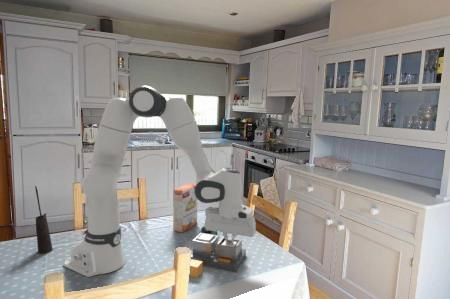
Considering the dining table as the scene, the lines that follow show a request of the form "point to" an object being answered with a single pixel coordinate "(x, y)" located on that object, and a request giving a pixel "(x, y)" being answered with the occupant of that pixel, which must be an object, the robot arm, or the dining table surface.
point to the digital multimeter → (207, 231)
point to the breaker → (206, 238)
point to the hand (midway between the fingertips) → (229, 243)
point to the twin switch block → (218, 253)
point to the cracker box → (184, 208)
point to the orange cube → (195, 267)
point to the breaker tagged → (229, 244)
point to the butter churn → (42, 231)
